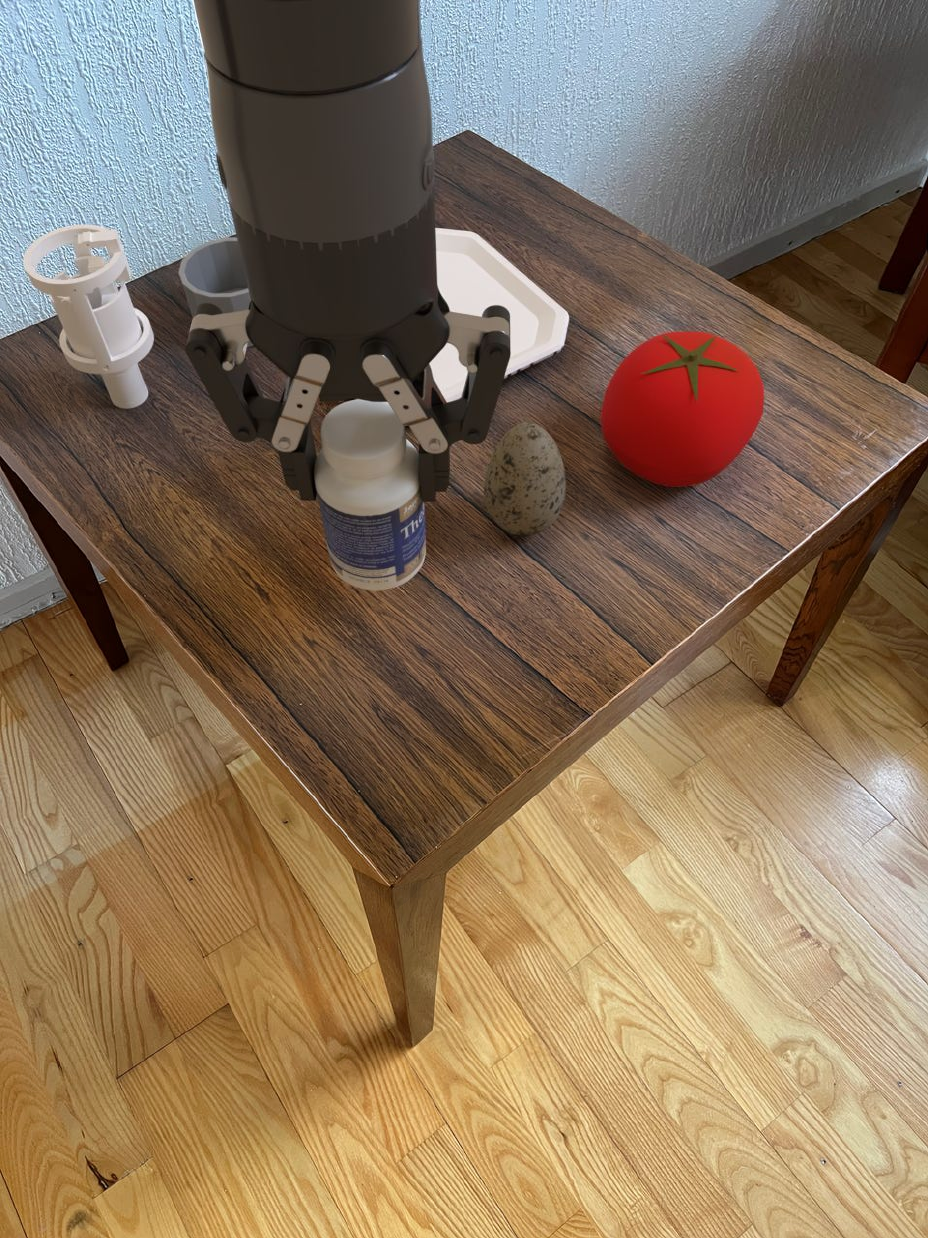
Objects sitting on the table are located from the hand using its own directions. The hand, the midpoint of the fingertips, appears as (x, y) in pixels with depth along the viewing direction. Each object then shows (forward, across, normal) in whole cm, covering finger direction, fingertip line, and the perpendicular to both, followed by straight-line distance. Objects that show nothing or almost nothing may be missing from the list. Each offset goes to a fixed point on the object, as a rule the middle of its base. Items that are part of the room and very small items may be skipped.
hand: (369, 487), depth 48 cm
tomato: (+20, -21, -22) cm, 36 cm away
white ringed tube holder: (+20, +24, -28) cm, 42 cm away
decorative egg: (+20, -9, -14) cm, 26 cm away
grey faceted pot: (+20, +16, -38) cm, 46 cm away
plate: (+20, -1, -36) cm, 42 cm away
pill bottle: (+6, 0, 0) cm, 6 cm away
